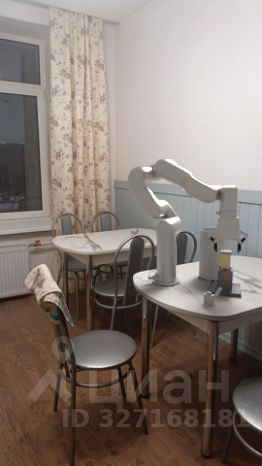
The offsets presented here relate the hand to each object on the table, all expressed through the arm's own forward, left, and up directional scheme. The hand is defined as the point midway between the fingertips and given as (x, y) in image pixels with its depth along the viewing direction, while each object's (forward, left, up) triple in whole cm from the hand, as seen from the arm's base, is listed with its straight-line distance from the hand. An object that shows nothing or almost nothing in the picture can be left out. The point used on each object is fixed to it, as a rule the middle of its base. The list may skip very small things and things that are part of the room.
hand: (227, 251), depth 151 cm
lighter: (-15, -12, -19) cm, 27 cm away
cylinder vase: (+6, +19, -19) cm, 27 cm away
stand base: (0, 0, -18) cm, 18 cm away
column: (0, 0, -17) cm, 17 cm away
